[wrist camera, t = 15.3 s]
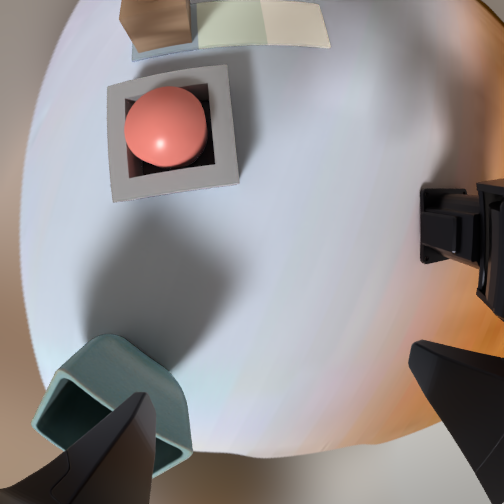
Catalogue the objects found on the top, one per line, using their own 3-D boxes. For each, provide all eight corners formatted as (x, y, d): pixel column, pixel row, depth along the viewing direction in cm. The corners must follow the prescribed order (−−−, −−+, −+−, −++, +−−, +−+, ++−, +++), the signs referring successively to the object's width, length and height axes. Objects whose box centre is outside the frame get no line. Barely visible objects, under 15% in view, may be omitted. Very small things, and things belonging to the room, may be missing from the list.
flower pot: (113, 301, 19) (57, 366, 10) (201, 368, 21) (197, 454, 12) (72, 363, 19) (29, 426, 11) (148, 417, 21) (131, 490, 13)
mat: (317, 5, 15) (318, 4, 15) (329, 48, 16) (330, 47, 16) (135, 16, 14) (134, 14, 14) (132, 62, 15) (131, 60, 15)
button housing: (225, 83, 16) (227, 64, 13) (236, 184, 18) (239, 183, 15) (123, 101, 16) (107, 86, 13) (129, 200, 17) (112, 202, 14)
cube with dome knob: (190, 7, 14) (183, -45, 8) (191, 42, 15) (183, -11, 9) (140, 17, 14) (119, -31, 7) (138, 53, 15) (111, 7, 8)
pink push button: (205, 101, 16) (201, 80, 12) (211, 164, 17) (208, 157, 13) (140, 112, 15) (123, 95, 12) (144, 174, 16) (126, 170, 13)
